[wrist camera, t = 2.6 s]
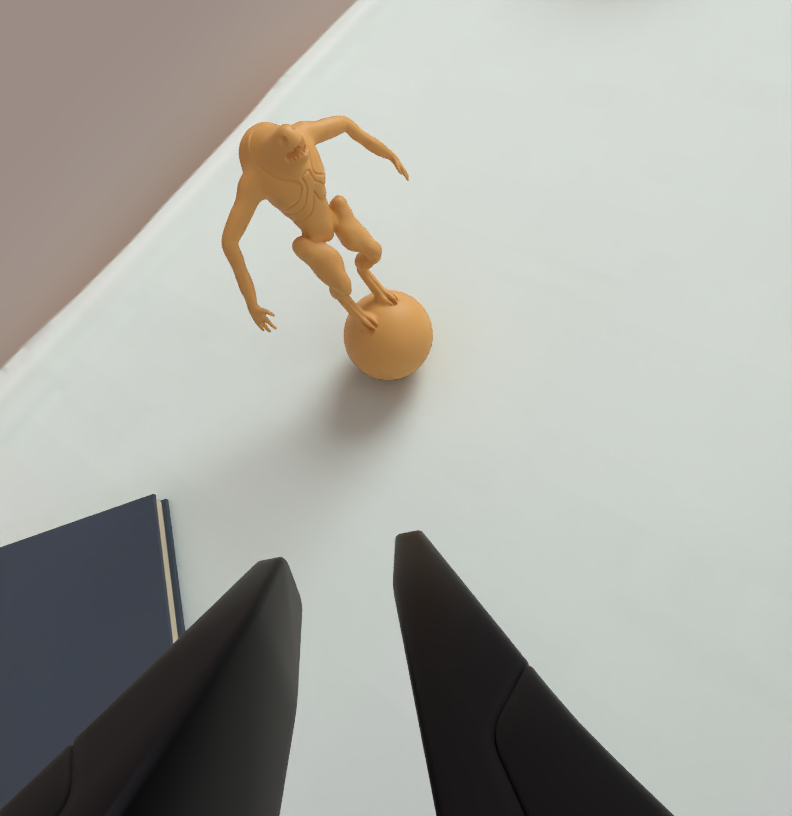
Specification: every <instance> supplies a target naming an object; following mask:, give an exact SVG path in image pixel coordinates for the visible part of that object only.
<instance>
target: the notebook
mask: <svg viewBox="0 0 792 816" xmlns="http://www.w3.org/2000/svg"><path fill="white" fill-rule="evenodd" d="M184 633H185V628H184V620H183V612H182V604H181V597H180V589H179V581H178V573H177V566H176V558H175V550H174V542H173V535H172V527H171V519H170V511H169V504H168V500H167V499H164V500H161V501H159V500H156V495H155V494H152V495H149V496H146V497H143V498H141V499H138V500H135V501H132V502H129V503H126V504H123V505H121V506H118V507H115V508H112V509H109V510H106V511H103V512H101V513H98V514H95V515H92V516H89V517H86V518H83V519H80V520H78V521H75V522H72V523H69V524H66V525H63V526H60V527H58V528H55V529H52V530H49V531H46V532H43V533H40V534H38V535H35V536H32V537H29V538H26V539H23V540H20V541H18V542H15V543H12V544H9V545H6V546H3V547H0V809H1V808H2V807H3V806H5V805H6V804H7V803H8V802H9V801H10V800H11V799H12V798H13V797H14V796H15V795H16V794H17V793H18V792H19V791H20V790H22V789H23V788H24V787H25V786H26V785H27V784H28V783H29V782H30V781H31V780H32V779H33V778H34V777H35V776H36V775H38V774H39V773H40V772H41V771H42V770H43V769H44V768H45V767H46V766H47V765H48V764H49V763H50V762H51V761H52V760H53V759H54V758H55V757H56V756H57V755H58V754H59V753H60V752H61V751H62V750H63V749H64V748H65V747H66V746H68V745H73V741H74V739H75V738H76V737H77V736H78V735H79V734H80V733H81V732H82V731H83V730H84V729H85V728H86V727H87V726H88V725H89V724H90V723H91V722H93V721H94V720H95V719H96V718H97V717H98V716H99V715H100V714H101V713H102V712H103V711H104V710H105V709H106V708H107V707H108V706H109V705H110V704H111V703H112V702H113V701H114V700H115V699H116V698H117V697H118V696H119V695H120V694H122V693H123V692H124V691H125V690H126V689H127V688H128V687H129V686H130V685H131V684H132V683H133V682H134V681H135V680H136V679H137V678H138V677H139V676H140V675H141V674H142V673H143V672H144V671H145V670H146V669H147V668H148V667H149V666H151V665H152V664H153V663H154V662H155V661H156V660H157V659H158V658H159V657H160V656H161V655H162V654H163V653H164V652H165V651H166V650H167V649H168V648H169V647H170V646H171V645H172V644H173V643H174V642H175V641H176V640H177V639H178V638H180V637H181V636H182V635H183V634H184Z"/></svg>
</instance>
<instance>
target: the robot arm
mask: <svg viewBox="0 0 792 816" xmlns="http://www.w3.org/2000/svg"><path fill="white" fill-rule="evenodd" d="M393 589H394V597H395V602H396V607H397V612H398V617H399V623H400V628H401V633H402V638H403V643H404V649H405V654H406V659H407V664H408V670H409V675H410V680H411V685H412V690H413V696H414V701H415V706H416V711H417V716H418V722H419V727H420V732H421V737H422V743H423V748H424V753H425V758H426V763H427V769H428V774H429V779H430V784H431V789H432V795H433V800H434V805H435V810H436V816H674V815H673V814H672V813H671V812H670V811H669V810H668V809H667V808H666V807H665V806H663V805H662V804H661V803H660V802H659V801H658V800H657V799H656V798H655V797H654V796H653V795H652V794H651V793H650V792H649V791H648V790H647V789H646V788H645V787H644V786H643V785H642V784H641V783H640V782H639V781H637V780H636V779H635V778H634V777H633V776H632V775H631V774H630V773H629V772H628V771H627V770H626V769H625V768H624V767H623V766H622V765H621V764H620V763H619V762H618V761H617V760H616V759H615V758H614V757H613V756H612V755H611V754H610V753H609V752H608V751H607V750H606V749H605V748H604V747H603V746H602V745H601V744H600V743H599V742H598V741H597V740H596V739H595V738H594V737H593V736H592V735H591V734H590V733H589V732H588V731H587V730H586V729H585V728H584V727H583V726H582V725H581V724H580V723H579V722H578V721H577V719H576V718H575V717H574V716H573V715H572V714H571V713H570V711H569V710H568V709H567V708H566V707H565V706H564V704H563V703H562V702H561V701H560V700H559V699H558V698H557V696H556V695H555V694H554V693H553V692H552V691H551V690H550V688H549V687H548V686H547V685H546V683H545V682H544V681H543V680H542V679H541V677H540V676H539V675H538V674H537V672H536V671H535V670H534V669H533V668H532V667H531V666H529V664H528V662H527V660H526V659H525V658H524V657H523V656H522V654H521V653H520V652H519V651H518V649H517V648H516V647H515V646H514V644H513V643H512V642H511V641H510V639H509V638H508V637H507V636H506V635H505V633H504V632H503V631H502V630H501V628H500V627H499V626H498V625H497V623H496V622H495V621H494V620H493V618H492V617H491V616H490V615H489V614H488V612H487V611H486V610H485V609H484V607H483V606H482V605H481V604H480V602H479V601H478V600H477V599H476V597H475V596H474V595H473V594H472V593H471V591H470V590H469V589H468V588H467V586H466V585H465V584H464V583H463V581H462V580H461V579H460V578H459V576H458V575H457V574H456V573H455V571H454V570H453V569H452V568H451V567H450V565H449V564H448V563H447V562H446V560H445V559H444V558H443V557H442V555H441V554H440V553H439V552H438V550H437V549H436V548H435V547H434V546H433V544H432V543H431V542H430V541H429V539H428V538H427V537H426V536H425V534H424V533H423V532H422V531H419V530H417V531H412V532H407V533H402V534H398V535H397V536H396V538H395V554H394V572H393ZM301 623H302V603H301V598H300V595H299V592H298V589H297V586H296V584H295V581H294V578H293V576H292V573H291V570H290V567H289V565H288V563H287V561H286V560H285V559H284V558H282V557H278V558H272V559H267V560H262V561H259V562H257V563H256V564H255V565H254V566H253V567H252V568H251V569H250V570H249V571H248V572H247V573H246V574H245V575H244V576H243V577H242V578H241V579H240V580H238V581H237V582H236V583H235V584H234V585H233V586H232V587H231V588H230V589H229V590H228V591H227V592H226V593H225V594H224V595H223V596H222V597H221V598H220V599H219V600H218V601H217V602H216V603H215V604H214V605H213V606H212V607H211V608H210V609H208V610H207V611H206V612H205V613H204V614H203V615H202V616H201V617H200V618H199V619H198V620H197V621H196V622H195V623H194V624H193V625H192V626H191V627H190V628H189V629H188V630H187V631H186V632H185V633H184V634H183V635H182V636H181V637H180V638H178V639H177V640H176V641H175V642H174V643H173V644H172V645H171V646H170V647H169V648H168V649H167V650H166V651H165V652H164V653H163V654H162V655H161V656H160V657H159V658H158V659H157V660H156V661H155V662H154V663H153V664H152V665H151V666H149V667H148V668H147V669H146V670H145V671H144V672H143V673H142V674H141V675H140V676H139V677H138V678H137V679H136V680H135V681H134V682H133V683H132V684H131V685H130V686H129V687H128V688H127V689H126V690H125V691H124V692H123V693H122V694H120V695H119V696H118V697H117V698H116V699H115V700H114V701H113V702H112V703H111V704H110V705H109V706H108V707H107V708H106V709H105V710H104V711H103V712H102V713H101V714H100V715H99V716H98V717H97V718H96V719H95V720H94V721H93V722H91V723H90V724H89V725H88V726H87V727H86V728H85V729H84V730H83V731H82V732H81V733H80V734H79V735H78V736H77V737H76V738H75V739H74V741H73V745H68V746H66V747H65V748H64V749H63V750H62V751H61V752H60V753H59V754H58V755H57V756H56V757H55V758H54V759H53V760H52V761H51V762H50V763H49V764H48V765H47V766H46V767H45V768H44V769H43V770H42V771H41V772H40V773H39V774H38V775H36V776H35V777H34V778H33V779H32V780H31V781H30V782H29V783H28V784H27V785H26V786H25V787H24V788H23V789H22V790H20V791H19V792H18V793H17V794H16V795H15V796H14V797H13V798H12V799H11V800H10V801H9V802H8V803H7V804H6V805H5V806H3V807H2V808H1V809H0V816H279V815H280V808H281V802H282V796H283V790H284V784H285V778H286V772H287V765H288V759H289V753H290V747H291V741H292V735H293V728H294V722H295V715H296V707H297V696H298V680H299V661H300V642H301Z"/></svg>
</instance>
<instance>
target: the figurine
mask: <svg viewBox="0 0 792 816" xmlns="http://www.w3.org/2000/svg"><path fill="white" fill-rule="evenodd" d="M343 132H346V133H347V134H348V135H349V136H350V137H351V138H352V139H353V140H355V141H357V142H358V143H360V144H361V145H363V146H364V147H365V148H366V149H368V150H369V151H371V152H372V153H374V154H376V155H378V156H380V157H383V158H386V159H388V160H390V161H391V162H392V163H393V164H394V165H395V167H396V169H397V170H398V172H399V173H400V174H401V175H402V174H403V175H404V176H405V178H406V179H407V181H409V179H408V174H407V172H406V170H405V169H404V167H403V165H402V164H401V162H400V160H399V159H398V157H397V156H396V155H395V154H394V153H393V152H392V151H391V150H390V149H388V148H387V147H386V146H385V145H384V144H383V143H382V142H381V141H379V140H378V139H376V138H374V137H372V136H371V135H369V134H367V133H366V132H364V131H363V130H362V129H361V128H360V127H359V126H358V125H357V124H356V123H355V122H353V121H352V120H351V119H350V118H348V117H345V116H333V117H328V118H324V119H320V120H318V121H300V122H297V123H295V124H293V125H290V124H283V125H281V126H280V125H277V124H274V123H270V122H261V123H258V124H256V125H254V126H252V127H251V128H249V129H248V130H247V131H246V133H245V134H244V136H243V138H242V140H241V142H240V146H239V159H240V163H241V167H242V170H243V174H242V176H241V178H240V180H239V183H238V187H237V195H236V200H235V203H234V205H233V207H232V209H231V211H230V214H229V217H228V219H227V222H226V225H225V228H224V231H223V235H222V248H223V251H224V253H225V255H226V257H227V259H228V261H229V263H230V265H231V267H232V269H233V271H234V274H235V277H236V280H237V282H238V285H239V288H240V291H241V293H242V294H243V296H244V298H245V301H246V303H247V307H248V310H249V312H250V314H251V316H252V318H253V320H254V321H255V323H256V324H257V325H258V327H259V328H260V329H261V330H262V331H264V329H263V327H264V328H265V329H266V330H267V331H268V332H271V330H270V329H269V328H268V327H267V325H266V324H265V322H266V323H268V324H269V325H270V326H271V327H273V328H274V329H277V328H276V327H275V326H274V325H273V324H272V322H271V321H270V320H269V319H268V318H267V317H266V316H265V315H266V314H269V315H271V316H275V315H274V314H273V313H272V312H270V311H269V310H267V309H264V308H261V307H259V306H258V304H257V298H256V293H255V288H254V285H253V282H252V279H251V276H250V274H249V272H248V270H247V268H246V265H245V262H244V258H243V255H242V253H241V250H240V248H239V245H238V242H239V240H240V238H241V237H242V235H243V233H244V232H245V230H246V228H247V226H248V224H249V222H250V220H251V218H252V216H253V214H254V211H255V209H256V207H257V205H258V204H259V203H260V202H261V201H262V200H264V199H267V200H268V201H269V202H270V203H271V204H272V205H273V206H275V207H276V208H278V209H279V210H280V211H281V212H282V213H283V214H284V215H285V216H287V217H288V218H290V219H291V220H292V221H293V222H294V223H295V224H296V225H297V226H298V227H299V228H300V229H301V231H302V236H300V237H297V238H296V239H295V240H294V241H293V244H292V248H293V251H294V252H295V254H296V255H297V256H298V257H299V258H300V259H301V260H303V261H304V262H305V263H306V264H308V265H309V266H310V268H311V269H312V270H313V272H314V273H315V274H316V275H317V277H318V278H319V279H320V280H321V281H322V282H324V283H325V284H326V285H328V286H329V290H330V293H331V295H332V297H333V298H335V299H337V300H338V301H339V302H340V303H341V305H342V306H343V307H344V308H345V309H346V310H347V312H348V313H349V315H348V317H347V319H346V323H345V327H344V343H345V347H346V350H347V353H348V355H349V357H350V359H351V360H352V362H353V363H354V364H355V365H356V366H357V367H358V368H359V369H360V370H361V371H362V372H364V373H365V374H367V375H369V376H371V377H374V378H377V379H382V380H395V379H400V378H403V377H405V376H408V375H410V374H411V373H413V372H414V371H416V370H417V369H418V368H419V367H420V366H421V365H422V364H423V362H424V361H425V360H426V358H427V356H428V354H429V352H430V349H431V346H432V340H433V330H432V325H431V321H430V318H429V316H428V314H427V312H426V311H425V309H424V308H423V306H422V305H421V304H420V303H419V302H418V301H417V300H415V299H414V298H413V297H411V296H409V295H407V294H405V293H403V292H399V291H394V290H387V289H385V288H384V287H383V286H382V285H381V284H380V282H379V281H378V280H377V279H376V278H375V276H374V275H373V274H372V273H371V272H370V271H369V269H370V268H371V267H372V266H373V265H374V264H376V263H377V262H378V261H379V260H380V258H381V254H382V248H381V246H380V244H379V243H378V242H376V241H375V240H374V239H373V238H372V236H371V235H370V233H369V232H368V231H367V230H366V229H365V228H364V227H363V226H362V225H361V223H360V222H359V221H358V220H357V219H356V218H355V217H354V215H353V213H352V210H351V209H350V207H349V205H348V203H347V201H346V199H345V198H344V197H342V196H335V197H334V198H333V199H332V201H331V202H330V204H329V205H328V202H327V199H326V189H325V185H324V184H325V172H324V166H323V163H322V161H321V158H320V156H319V153H318V151H317V149H316V147H315V145H316V144H318V143H321V142H324V141H326V140H328V139H331V138H333V137H336V136H338V135H339V134H341V133H343ZM334 232H335V234H336V235H337V237H338V238H339V240H340V242H341V243H342V245H343V246H344V247H345V248H347V249H348V250H350V251H355V252H360V253H358V254H357V256H356V258H355V265H356V267H357V272H358V273H359V275H360V277H361V278H362V280H363V281H364V282H365V283H366V285H367V286H368V288H369V289H370V290H371V292H372V293H371V294H369V295H367V296H365V297H364V298H362V299H361V300H360V301H359V302H358V303H357V304H356V303H355V302H354V301H353V300H352V299H351V297H350V296H349V295H350V294H351V281H350V279H349V277H348V275H347V273H346V271H345V268H344V263H343V259H342V257H341V255H340V254H339V253H338V252H337V251H336V250H335V249H334V248H333V247H331V246H329V245H328V244H326V243H325V242H326V241H330V240H332V238H333V236H334ZM261 325H262V326H263V327H262V326H261Z"/></svg>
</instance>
